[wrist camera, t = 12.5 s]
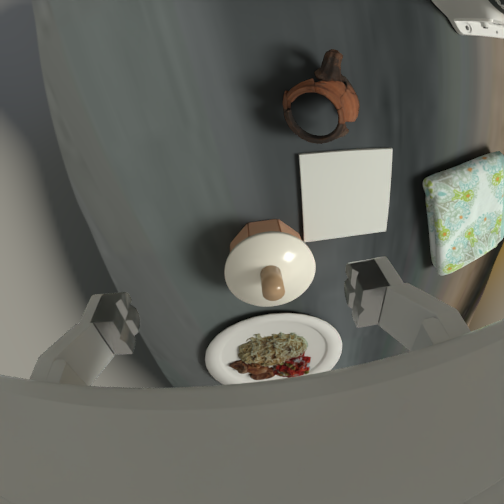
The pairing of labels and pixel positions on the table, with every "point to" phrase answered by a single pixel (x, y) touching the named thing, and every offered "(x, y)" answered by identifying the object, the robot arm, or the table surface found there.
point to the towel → (465, 211)
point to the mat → (345, 192)
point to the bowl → (262, 230)
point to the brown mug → (332, 89)
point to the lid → (269, 268)
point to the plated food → (273, 348)
